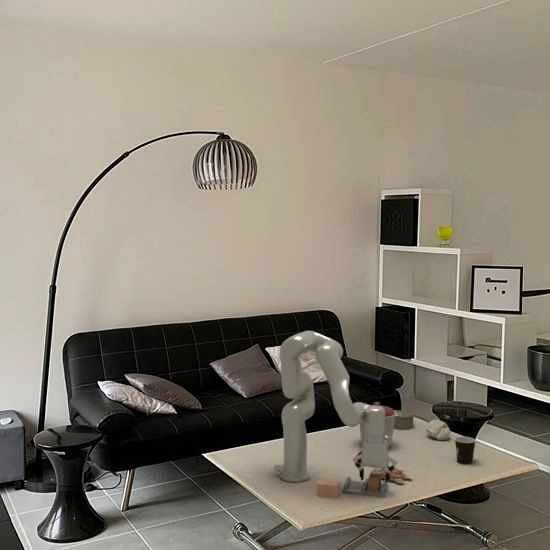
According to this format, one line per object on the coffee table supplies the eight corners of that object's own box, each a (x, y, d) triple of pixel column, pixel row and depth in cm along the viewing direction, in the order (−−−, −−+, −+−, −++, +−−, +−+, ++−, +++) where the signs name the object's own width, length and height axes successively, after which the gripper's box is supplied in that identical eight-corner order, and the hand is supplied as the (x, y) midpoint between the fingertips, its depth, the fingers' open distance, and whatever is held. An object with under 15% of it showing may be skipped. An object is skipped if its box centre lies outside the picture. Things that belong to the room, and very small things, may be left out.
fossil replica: (446, 443, 336) (452, 439, 344) (448, 426, 335) (455, 422, 344) (421, 437, 342) (429, 433, 351) (424, 420, 342) (431, 417, 350)
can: (418, 428, 360) (418, 414, 359) (400, 431, 354) (400, 418, 353) (402, 421, 370) (403, 409, 369) (384, 425, 364) (384, 412, 363)
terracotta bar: (317, 496, 274) (317, 483, 274) (319, 492, 278) (319, 480, 278) (337, 498, 272) (337, 485, 272) (339, 494, 276) (339, 482, 275)
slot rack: (341, 492, 277) (341, 486, 277) (346, 482, 288) (346, 476, 287) (385, 497, 272) (385, 490, 272) (388, 486, 283) (388, 480, 283)
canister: (377, 455, 319) (378, 409, 317) (348, 445, 333) (349, 401, 331) (404, 447, 330) (404, 402, 328) (375, 437, 344) (375, 395, 342)
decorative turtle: (384, 468, 304) (384, 457, 304) (419, 477, 294) (419, 465, 293) (361, 480, 290) (361, 468, 290) (397, 490, 280) (397, 478, 280)
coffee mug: (474, 466, 305) (474, 443, 304) (453, 464, 308) (454, 441, 307) (475, 457, 316) (476, 435, 315) (455, 455, 319) (456, 433, 318)
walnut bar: (371, 483, 284) (371, 471, 283) (381, 484, 283) (381, 472, 282) (368, 490, 276) (368, 478, 276) (378, 492, 275) (378, 479, 275)
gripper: (398, 436, 278) (397, 479, 280) (354, 433, 283) (354, 475, 285) (396, 442, 271) (395, 486, 273) (351, 439, 276) (351, 481, 277)
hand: (374, 480), depth 279 cm, fingers open, 9 cm apart
